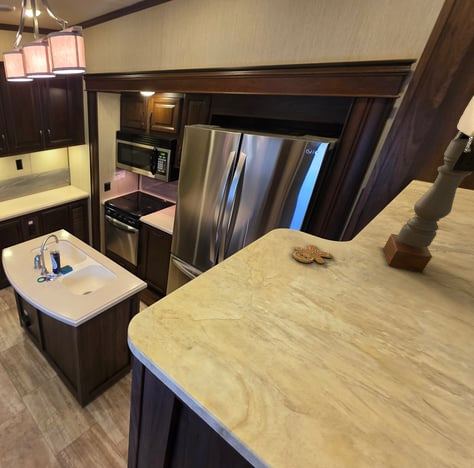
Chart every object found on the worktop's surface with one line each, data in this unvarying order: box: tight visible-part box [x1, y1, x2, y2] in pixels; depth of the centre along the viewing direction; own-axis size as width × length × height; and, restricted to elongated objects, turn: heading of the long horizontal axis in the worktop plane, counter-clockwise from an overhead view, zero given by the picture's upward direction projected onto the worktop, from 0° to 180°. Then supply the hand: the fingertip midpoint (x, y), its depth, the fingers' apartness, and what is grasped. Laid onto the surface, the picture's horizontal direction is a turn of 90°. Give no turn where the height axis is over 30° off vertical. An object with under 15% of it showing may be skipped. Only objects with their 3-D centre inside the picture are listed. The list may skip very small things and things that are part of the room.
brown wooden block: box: [383, 233, 433, 274], centre depth 76 cm, size 6×9×5 cm
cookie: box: [292, 244, 334, 264], centre depth 80 cm, size 8×1×10 cm
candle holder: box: [397, 138, 474, 248], centre depth 68 cm, size 6×6×25 cm
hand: (457, 165), depth 64 cm, fingers closed on candle holder, 5 cm apart
